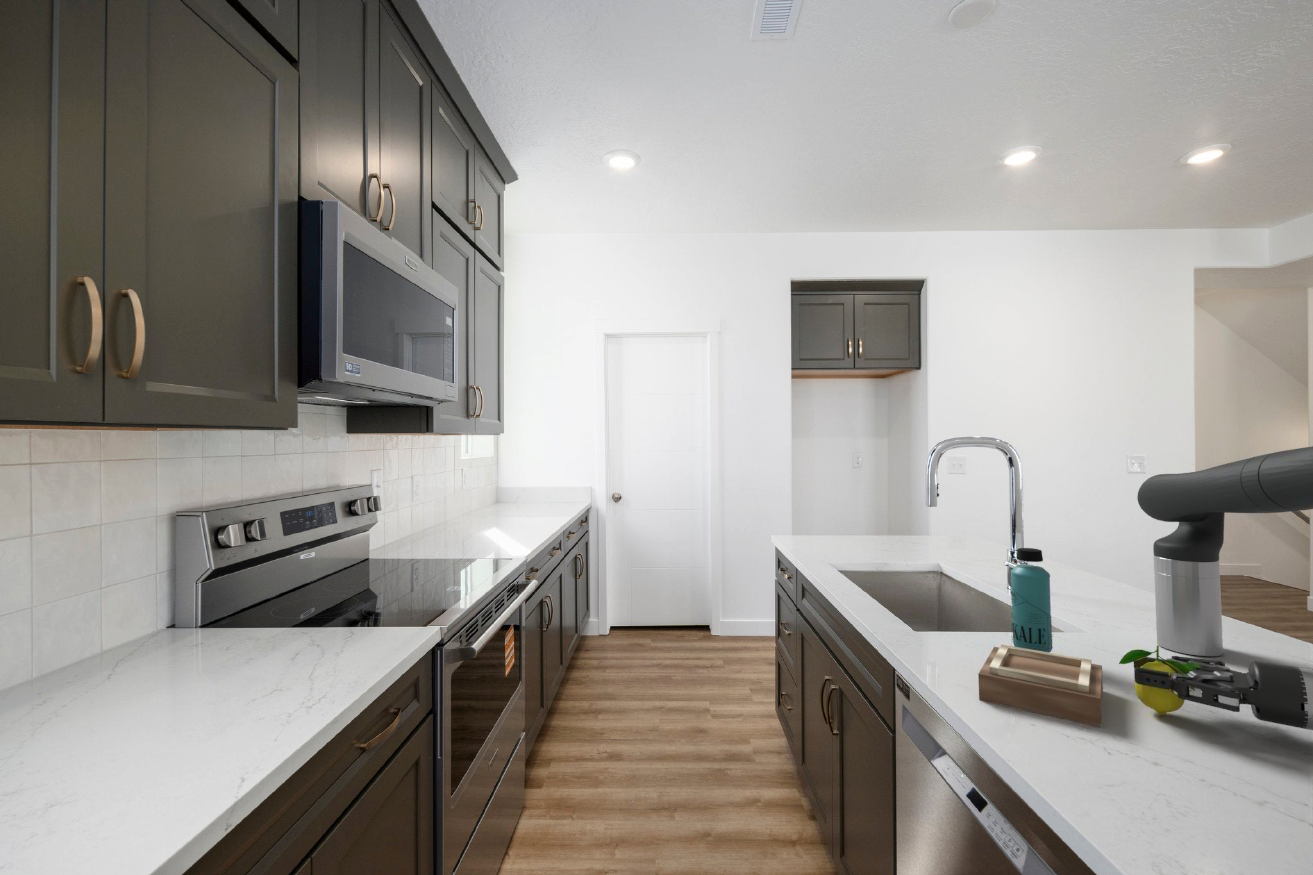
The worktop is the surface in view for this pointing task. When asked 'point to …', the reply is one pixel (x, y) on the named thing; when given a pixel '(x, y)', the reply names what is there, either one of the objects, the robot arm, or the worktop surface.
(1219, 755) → the worktop surface
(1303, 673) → the robot arm
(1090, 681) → the stand
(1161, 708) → the lemon
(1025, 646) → the beverage bottle
